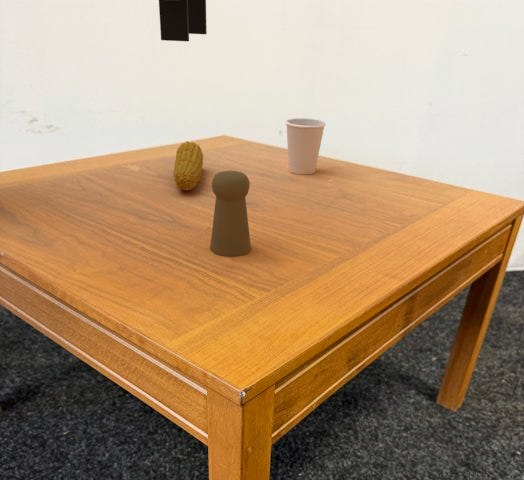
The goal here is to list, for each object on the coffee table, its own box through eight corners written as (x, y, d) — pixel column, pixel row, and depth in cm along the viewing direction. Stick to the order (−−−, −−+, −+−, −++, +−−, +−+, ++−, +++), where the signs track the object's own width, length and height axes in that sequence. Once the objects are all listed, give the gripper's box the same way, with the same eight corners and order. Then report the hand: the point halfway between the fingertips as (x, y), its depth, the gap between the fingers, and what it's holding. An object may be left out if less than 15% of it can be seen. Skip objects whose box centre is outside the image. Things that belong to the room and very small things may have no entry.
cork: (201, 249, 80) (199, 173, 74) (225, 237, 84) (225, 164, 78) (236, 259, 77) (236, 181, 71) (258, 246, 82) (261, 171, 76)
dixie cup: (302, 178, 114) (306, 127, 109) (274, 169, 119) (277, 120, 114) (329, 172, 119) (334, 123, 113) (301, 164, 124) (305, 116, 119)
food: (177, 167, 118) (175, 138, 115) (203, 167, 119) (202, 138, 115) (172, 196, 100) (170, 163, 97) (203, 197, 101) (202, 163, 98)
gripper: (198, -296, 39) (204, 46, 50) (230, -192, 60) (230, 32, 71) (93, -299, 39) (123, 42, 50) (162, -194, 60) (172, 30, 71)
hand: (186, 37), depth 61 cm, fingers open, 13 cm apart
